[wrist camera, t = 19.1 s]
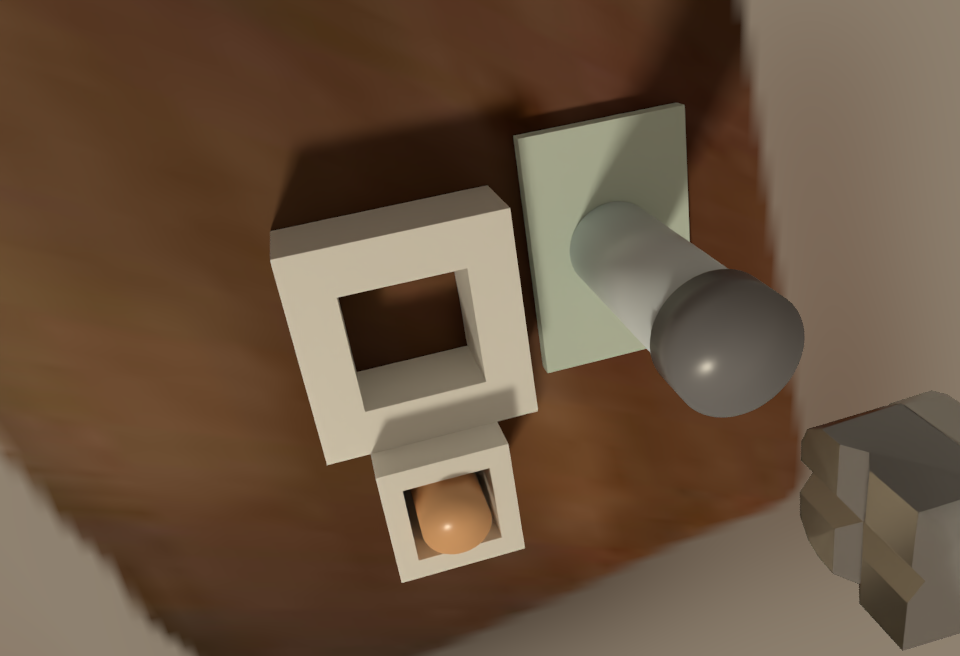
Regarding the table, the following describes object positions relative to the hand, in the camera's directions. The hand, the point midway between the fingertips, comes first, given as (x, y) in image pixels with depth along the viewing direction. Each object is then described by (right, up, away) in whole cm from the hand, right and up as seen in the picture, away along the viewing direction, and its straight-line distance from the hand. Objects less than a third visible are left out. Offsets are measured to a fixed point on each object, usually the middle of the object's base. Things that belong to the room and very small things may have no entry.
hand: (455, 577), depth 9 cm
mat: (+7, +7, +31) cm, 33 cm away
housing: (-3, +1, +31) cm, 32 cm away
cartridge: (+7, +7, +31) cm, 32 cm away
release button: (-2, -5, +31) cm, 31 cm away
